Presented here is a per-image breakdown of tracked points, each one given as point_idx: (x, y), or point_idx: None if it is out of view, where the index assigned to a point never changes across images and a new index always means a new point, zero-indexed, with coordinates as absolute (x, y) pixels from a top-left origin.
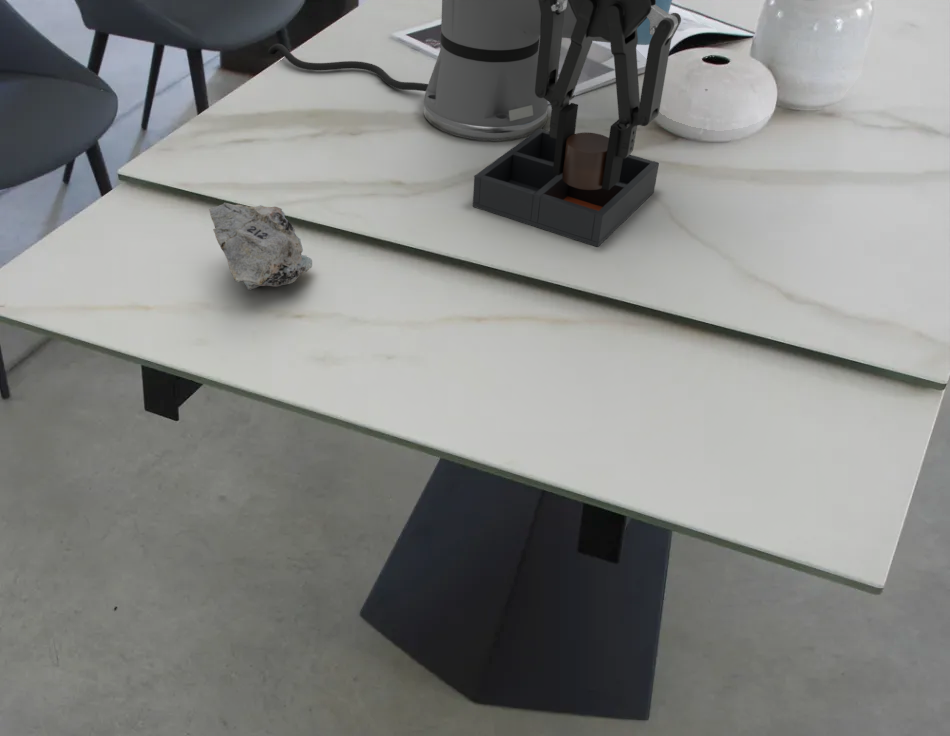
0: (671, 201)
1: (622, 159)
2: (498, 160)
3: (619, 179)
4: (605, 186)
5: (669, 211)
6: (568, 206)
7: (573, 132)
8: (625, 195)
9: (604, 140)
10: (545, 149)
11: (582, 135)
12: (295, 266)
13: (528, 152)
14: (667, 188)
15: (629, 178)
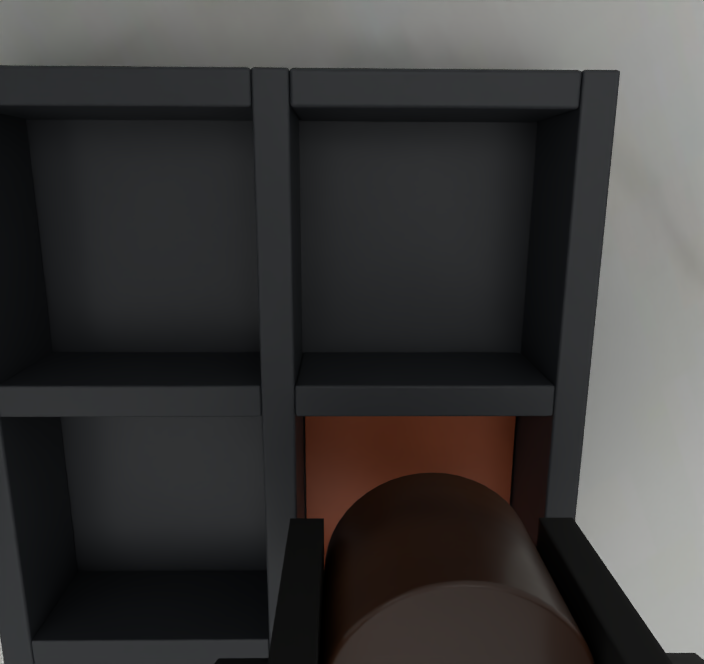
0: (648, 124)
1: (617, 587)
2: None
3: (574, 522)
4: None
5: (663, 211)
6: None
7: (317, 657)
8: (579, 463)
9: (521, 644)
10: (29, 115)
11: (381, 660)
12: None
13: (6, 246)
14: (601, 16)
15: (464, 120)
